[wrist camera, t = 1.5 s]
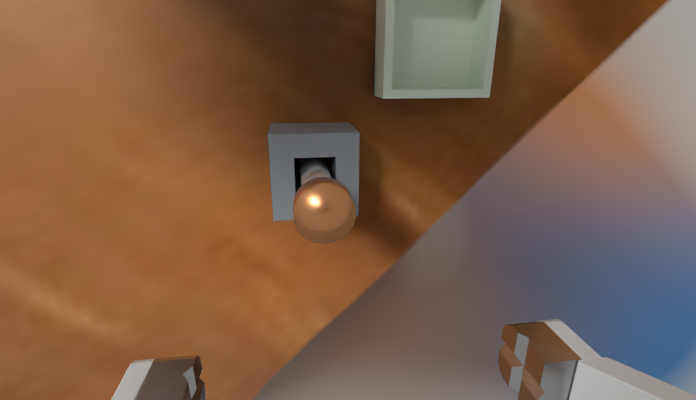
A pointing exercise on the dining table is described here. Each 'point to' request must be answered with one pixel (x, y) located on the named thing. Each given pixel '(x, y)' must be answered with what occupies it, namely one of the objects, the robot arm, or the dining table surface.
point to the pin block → (310, 143)
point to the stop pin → (322, 204)
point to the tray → (435, 48)
